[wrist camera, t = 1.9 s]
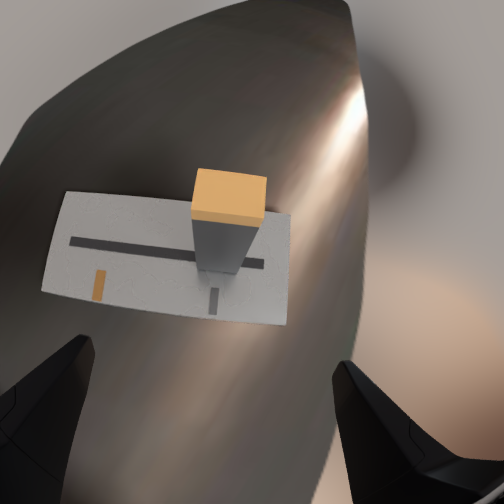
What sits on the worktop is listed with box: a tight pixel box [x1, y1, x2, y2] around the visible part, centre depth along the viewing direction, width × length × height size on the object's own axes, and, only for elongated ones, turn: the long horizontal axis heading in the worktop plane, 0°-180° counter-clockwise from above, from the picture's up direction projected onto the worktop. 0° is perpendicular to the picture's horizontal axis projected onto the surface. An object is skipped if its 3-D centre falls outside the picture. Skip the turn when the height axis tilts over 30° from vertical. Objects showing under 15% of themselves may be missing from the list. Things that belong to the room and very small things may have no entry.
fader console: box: [41, 191, 290, 326], centre depth 22 cm, size 20×9×2 cm, turn 85°
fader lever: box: [191, 168, 267, 273], centre depth 17 cm, size 3×2×10 cm, turn 85°
